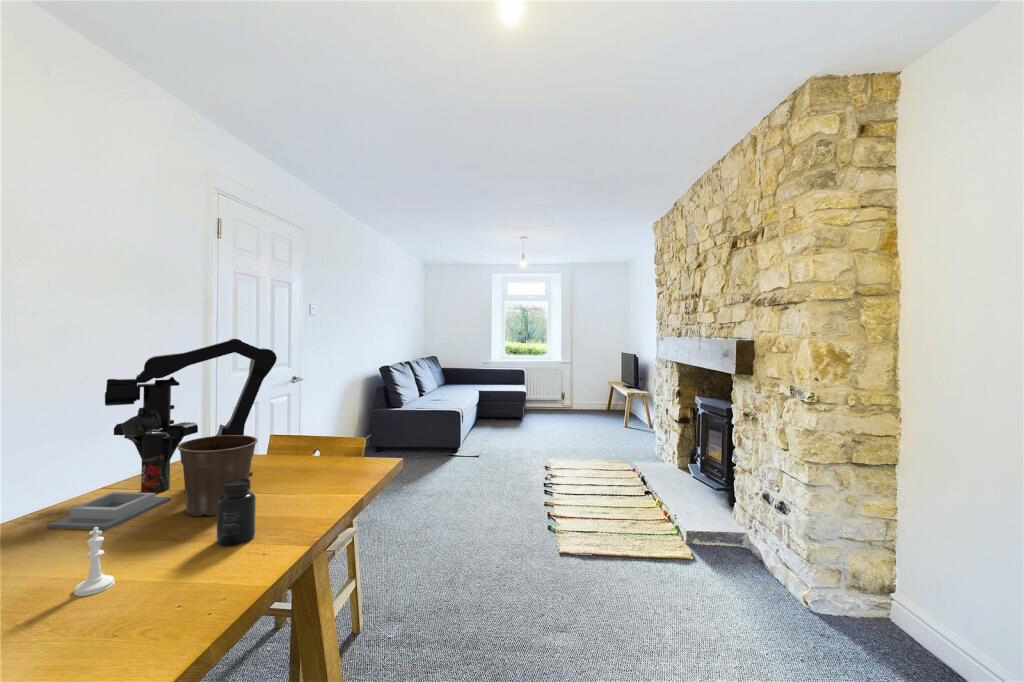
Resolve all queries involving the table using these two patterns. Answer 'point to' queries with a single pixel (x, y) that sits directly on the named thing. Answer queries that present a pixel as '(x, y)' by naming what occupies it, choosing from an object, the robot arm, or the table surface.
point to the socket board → (109, 510)
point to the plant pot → (213, 468)
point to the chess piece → (94, 569)
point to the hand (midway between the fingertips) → (156, 460)
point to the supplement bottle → (236, 513)
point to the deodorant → (154, 464)
